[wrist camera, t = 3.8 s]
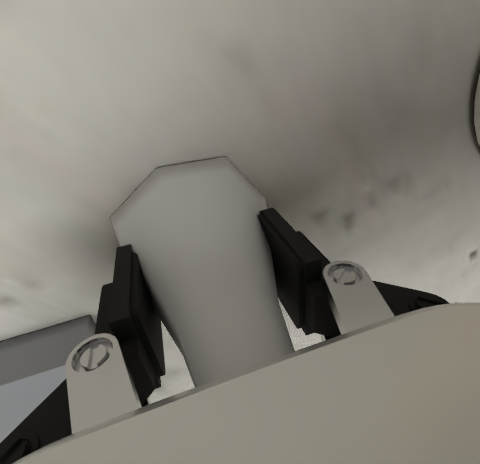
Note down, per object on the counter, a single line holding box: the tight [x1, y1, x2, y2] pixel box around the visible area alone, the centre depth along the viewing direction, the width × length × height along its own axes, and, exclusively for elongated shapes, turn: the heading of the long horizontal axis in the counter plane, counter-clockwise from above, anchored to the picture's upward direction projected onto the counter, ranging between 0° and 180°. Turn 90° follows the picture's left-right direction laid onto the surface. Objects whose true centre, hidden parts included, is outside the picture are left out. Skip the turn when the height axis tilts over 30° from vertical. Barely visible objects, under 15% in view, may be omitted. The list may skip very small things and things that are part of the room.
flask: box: [110, 157, 295, 388], centre depth 10 cm, size 7×7×10 cm
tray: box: [0, 315, 96, 443], centre depth 16 cm, size 14×14×3 cm
